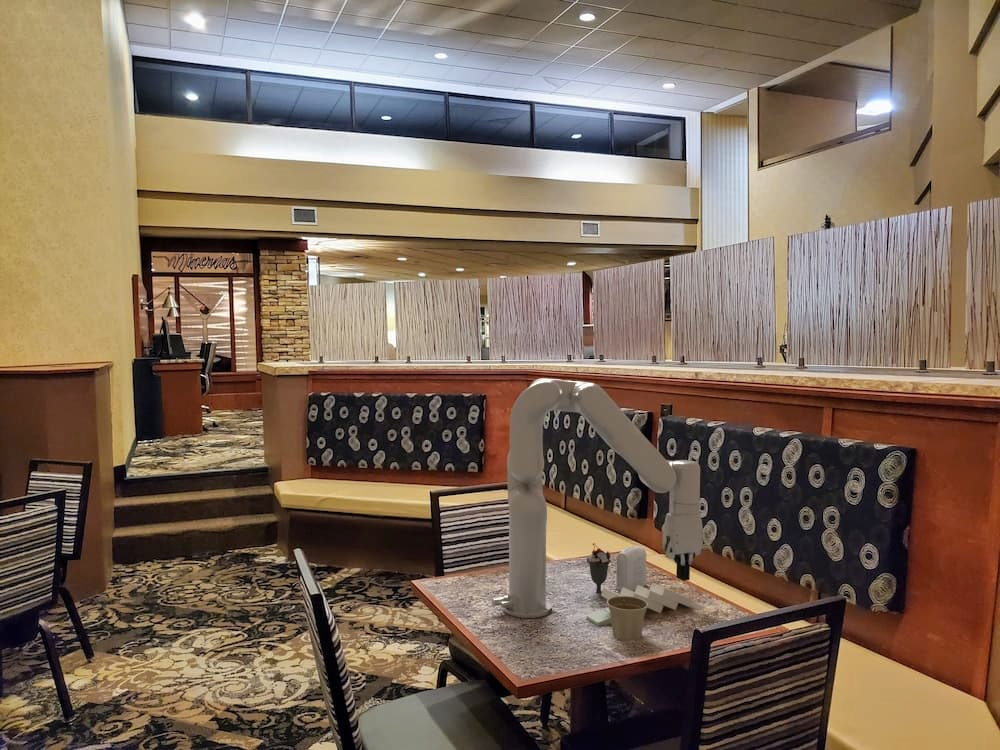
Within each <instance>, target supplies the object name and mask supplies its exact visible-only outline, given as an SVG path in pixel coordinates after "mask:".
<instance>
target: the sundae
mask: <svg viewBox="0 0 1000 750" xmlns="http://www.w3.org/2000/svg"><path fill="white" fill-rule="evenodd" d="M592 545H593V546H594V547H596V548H597V549H596V550H595V549H593V550H592V551H591V554H590V555H589V557H587V558H586V562H587V563H588V566H589V572H590V577H591V580H592V582H593V583H595V585H596V589H595V590H596V591H595V593H596V594H599V595H600V594H602V592H603V591H602V585H603V584H604V583H605V582H606V581H607V577H608V572H609V571H608V570H609V563H611V562H612V559H610V558H611V554H610V551H608V550H607V551H606V552H605V551H604V550H602V549H601V548H599V547H597V545H596V543H594V542H593V543H592Z"/></svg>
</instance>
